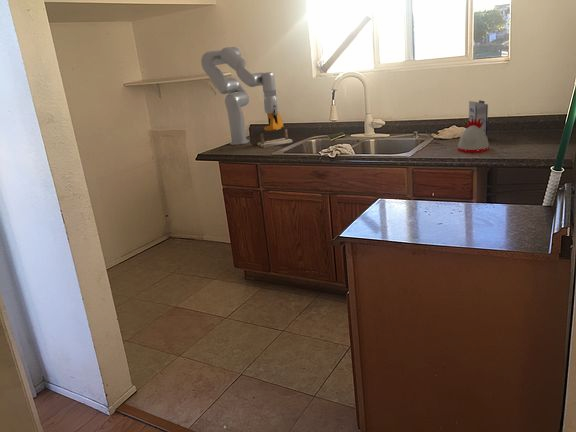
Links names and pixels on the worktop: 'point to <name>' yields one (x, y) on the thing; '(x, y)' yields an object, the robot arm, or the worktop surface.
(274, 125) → the bracket
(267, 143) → the tool rest
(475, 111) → the milk carton
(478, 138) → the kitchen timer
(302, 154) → the worktop surface
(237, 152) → the worktop surface
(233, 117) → the robot arm
